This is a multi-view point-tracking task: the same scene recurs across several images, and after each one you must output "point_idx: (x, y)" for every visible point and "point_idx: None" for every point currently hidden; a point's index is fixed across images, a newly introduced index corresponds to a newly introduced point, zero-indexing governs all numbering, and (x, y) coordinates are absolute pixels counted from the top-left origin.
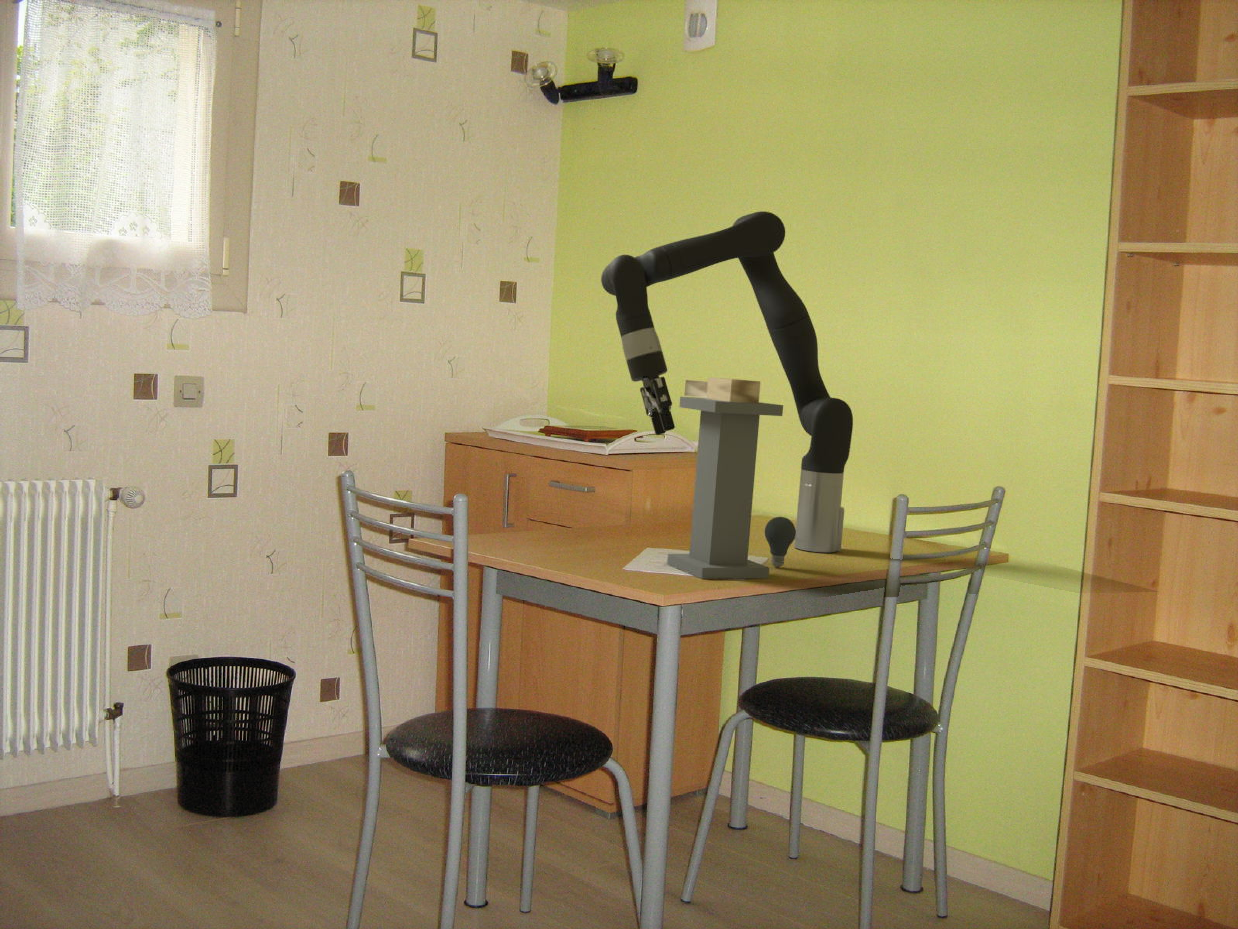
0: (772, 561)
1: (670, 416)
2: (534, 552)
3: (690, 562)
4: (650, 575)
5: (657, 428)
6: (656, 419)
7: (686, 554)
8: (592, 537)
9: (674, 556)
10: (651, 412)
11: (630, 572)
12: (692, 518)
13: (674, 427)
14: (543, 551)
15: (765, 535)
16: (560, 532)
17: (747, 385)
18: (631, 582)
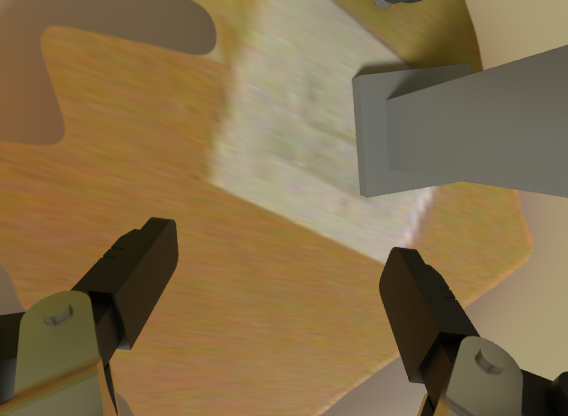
0: (385, 6)
1: (461, 311)
2: (286, 360)
3: (433, 184)
4: (433, 240)
5: (162, 273)
6: (137, 311)
7: (370, 167)
8: None
9: (387, 193)
10: (113, 385)
11: None
12: (429, 175)
13: (414, 250)
14: (276, 349)
15: (406, 1)
16: None
17: None
18: (469, 274)
